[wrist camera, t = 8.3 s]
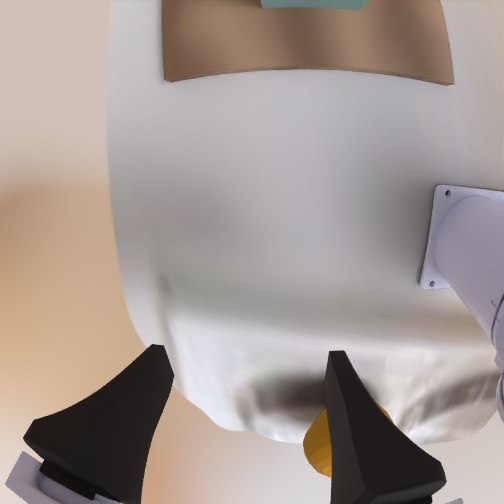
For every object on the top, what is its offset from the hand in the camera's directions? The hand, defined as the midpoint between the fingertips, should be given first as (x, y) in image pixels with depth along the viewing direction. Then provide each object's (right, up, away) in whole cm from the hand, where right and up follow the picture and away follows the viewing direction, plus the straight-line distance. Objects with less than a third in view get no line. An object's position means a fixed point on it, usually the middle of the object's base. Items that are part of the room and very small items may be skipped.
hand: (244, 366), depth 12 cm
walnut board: (+4, +22, 0) cm, 22 cm away
